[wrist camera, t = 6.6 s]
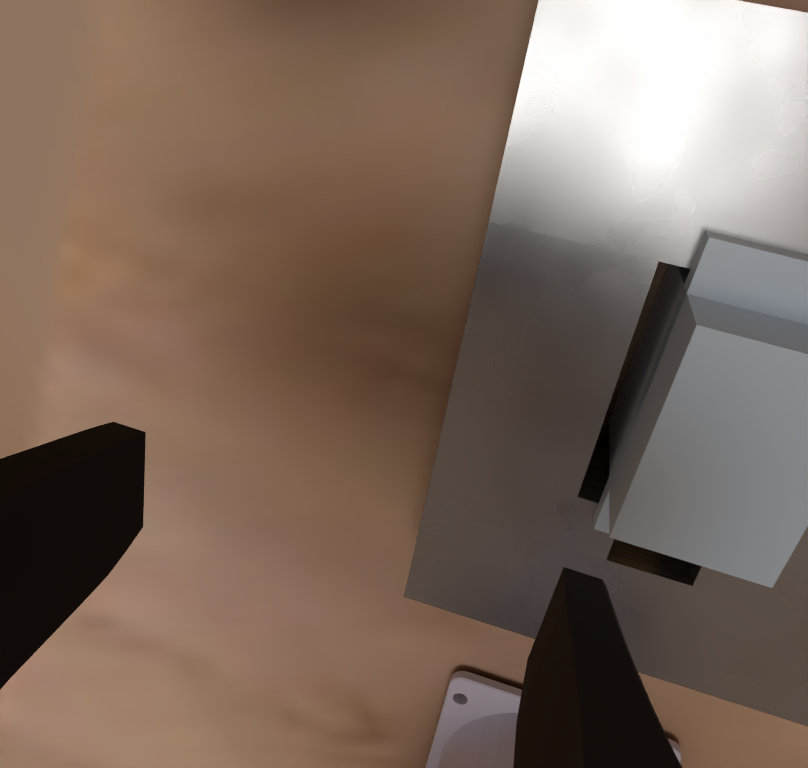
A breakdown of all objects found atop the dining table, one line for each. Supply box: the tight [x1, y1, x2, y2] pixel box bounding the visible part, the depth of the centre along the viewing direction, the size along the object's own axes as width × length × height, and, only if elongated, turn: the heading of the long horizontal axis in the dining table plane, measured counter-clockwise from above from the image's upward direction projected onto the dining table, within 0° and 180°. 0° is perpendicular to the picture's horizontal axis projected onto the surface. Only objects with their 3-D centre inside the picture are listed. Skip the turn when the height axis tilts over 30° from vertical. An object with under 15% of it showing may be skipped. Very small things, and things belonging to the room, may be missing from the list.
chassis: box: [404, 0, 808, 726], centre depth 18 cm, size 16×12×3 cm
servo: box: [594, 231, 808, 588], centre depth 16 cm, size 8×3×6 cm, turn 169°
